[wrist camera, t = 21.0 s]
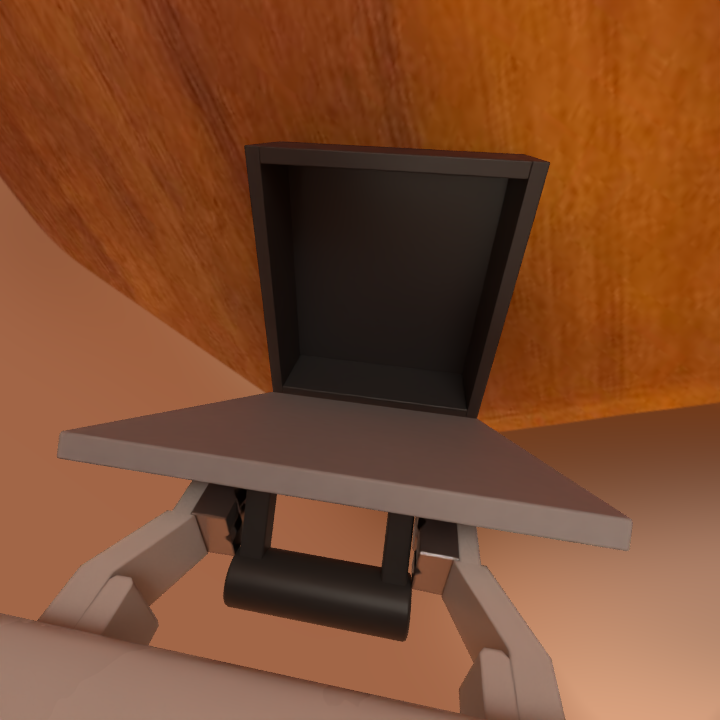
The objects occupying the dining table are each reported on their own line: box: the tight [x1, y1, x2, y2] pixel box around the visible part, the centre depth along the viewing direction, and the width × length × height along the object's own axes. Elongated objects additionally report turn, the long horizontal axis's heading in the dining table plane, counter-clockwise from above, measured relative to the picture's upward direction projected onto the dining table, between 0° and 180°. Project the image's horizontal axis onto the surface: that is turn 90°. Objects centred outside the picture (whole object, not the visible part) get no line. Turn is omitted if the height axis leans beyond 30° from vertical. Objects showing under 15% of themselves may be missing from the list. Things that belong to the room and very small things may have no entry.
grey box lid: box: [57, 392, 632, 642], centre depth 16 cm, size 15×13×5 cm
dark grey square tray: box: [244, 142, 550, 419], centre depth 22 cm, size 14×13×5 cm
